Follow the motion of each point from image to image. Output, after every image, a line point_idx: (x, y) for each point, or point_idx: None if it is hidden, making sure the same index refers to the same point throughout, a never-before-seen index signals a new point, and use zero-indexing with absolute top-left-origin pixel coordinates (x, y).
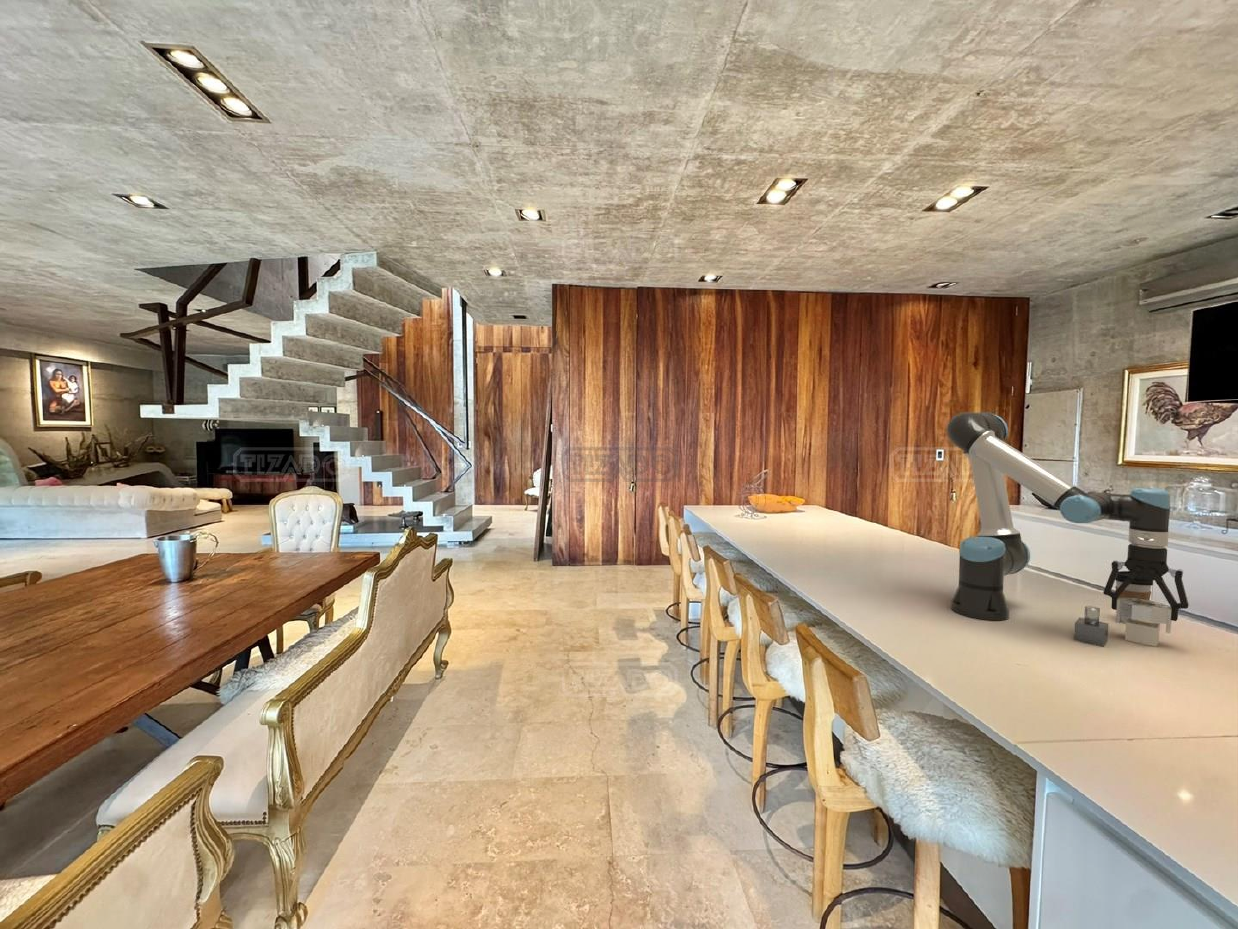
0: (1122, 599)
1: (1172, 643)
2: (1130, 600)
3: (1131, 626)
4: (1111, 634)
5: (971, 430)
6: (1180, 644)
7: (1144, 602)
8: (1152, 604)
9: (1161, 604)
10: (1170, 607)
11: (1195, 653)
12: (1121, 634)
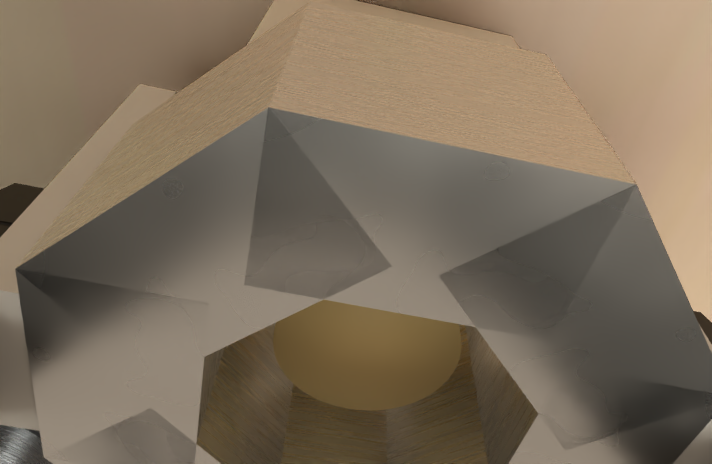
0: (50, 389)
1: (616, 25)
2: (166, 378)
3: None
4: (156, 78)
5: None
6: (682, 10)
7: (392, 294)
8: (500, 348)
9: (645, 364)
10: (708, 460)
11: (679, 213)
12: (228, 13)
